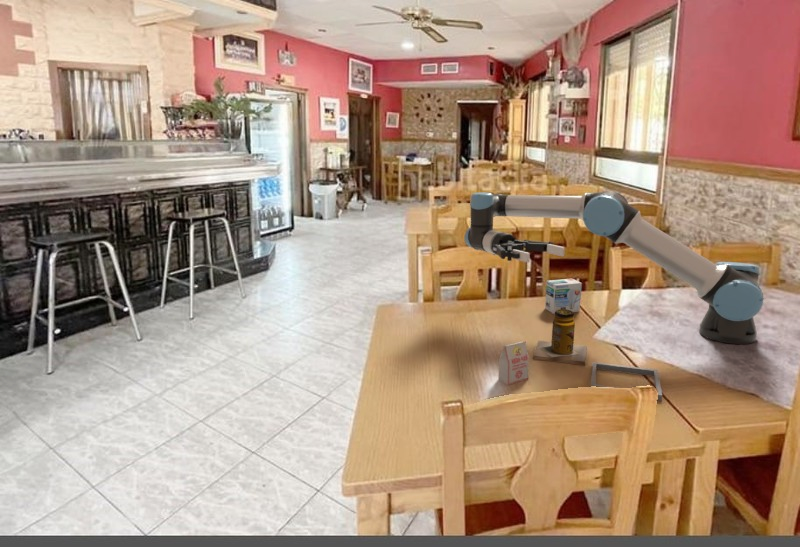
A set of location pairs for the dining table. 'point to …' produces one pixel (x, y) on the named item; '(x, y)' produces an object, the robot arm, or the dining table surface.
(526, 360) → the white milk carton
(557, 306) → the light bulb box
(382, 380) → the dining table surface
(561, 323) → the yellow cylindrical jar
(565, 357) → the walnut board
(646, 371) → the square collar
